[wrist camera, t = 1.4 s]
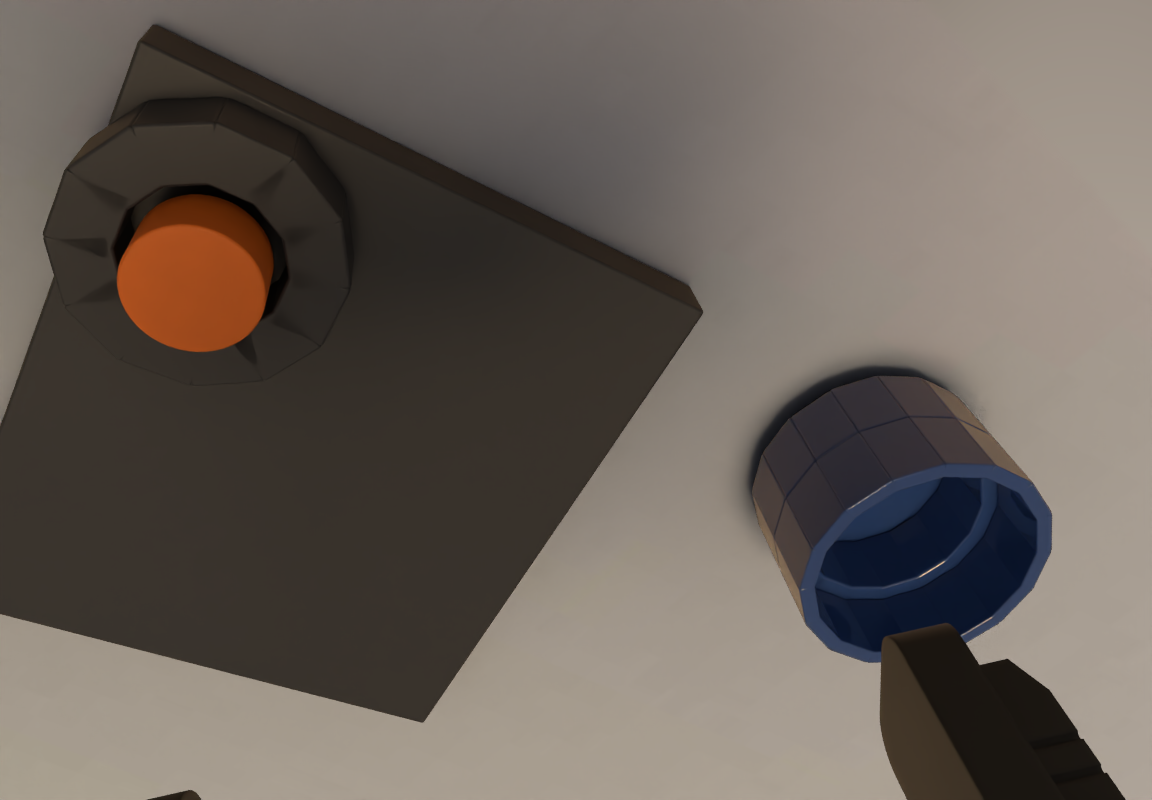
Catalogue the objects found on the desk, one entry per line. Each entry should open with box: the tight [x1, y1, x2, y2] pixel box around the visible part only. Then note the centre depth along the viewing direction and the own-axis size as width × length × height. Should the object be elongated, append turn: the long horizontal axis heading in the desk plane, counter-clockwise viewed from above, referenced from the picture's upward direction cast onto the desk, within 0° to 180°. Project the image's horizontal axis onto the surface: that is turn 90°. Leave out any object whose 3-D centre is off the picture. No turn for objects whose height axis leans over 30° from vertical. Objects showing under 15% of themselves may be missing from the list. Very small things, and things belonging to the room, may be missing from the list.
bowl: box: [752, 375, 1052, 663], centre depth 27 cm, size 6×6×4 cm
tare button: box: [117, 194, 274, 352], centre depth 19 cm, size 3×3×2 cm
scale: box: [0, 25, 703, 722], centre depth 24 cm, size 15×13×3 cm
